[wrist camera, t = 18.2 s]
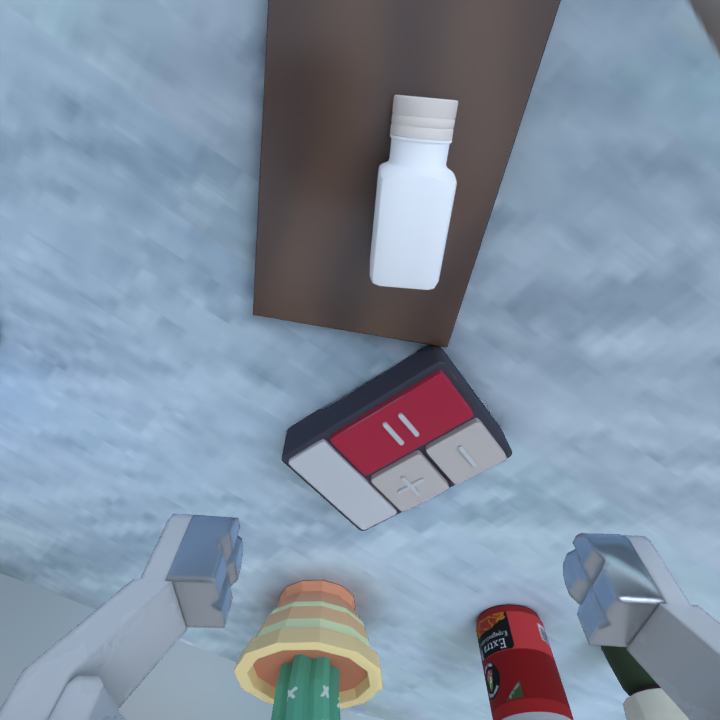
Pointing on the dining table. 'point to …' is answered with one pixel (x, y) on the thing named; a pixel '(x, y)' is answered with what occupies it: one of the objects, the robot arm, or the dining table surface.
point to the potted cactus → (311, 655)
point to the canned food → (520, 666)
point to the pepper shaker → (414, 195)
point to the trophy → (640, 689)
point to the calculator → (396, 440)
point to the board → (381, 147)
